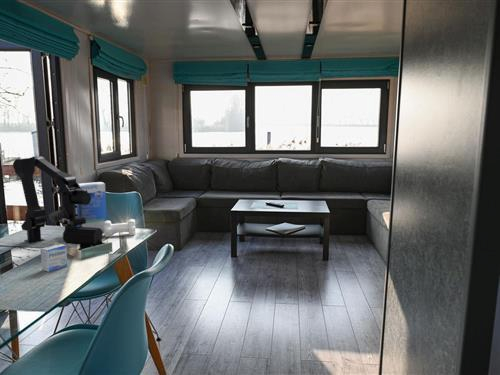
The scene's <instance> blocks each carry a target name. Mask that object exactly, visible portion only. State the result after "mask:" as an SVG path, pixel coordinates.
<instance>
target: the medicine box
mask: <svg viewBox="0 0 500 375" xmlns="http://www.w3.org/2000/svg"><path fill="white" fill-rule="evenodd" d="M40 259H41V260H40V261H41V270H42V271H45V272H48V273H50V272H54V271H57V270H60V269H63V268H67V267H68V254H67V249H66V244H64V245H63V243H61V244H58V245H54V246H53V245H50V246H46V247H43V248H40Z"/></svg>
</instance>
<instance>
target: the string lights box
mask: <svg viewBox="0 0 500 375" xmlns="http://www.w3.org/2000/svg"><path fill="white" fill-rule="evenodd" d="M78 184H79V185H80V187H81V188H82V190H87V192H88V193H89V194H90V196H91V201H90V203H89V204H88V205H79V204H76V205H77V208H76V214H78V216H77V217H79V216H81V217H84V218H85V219H86V223H85V224H80V225H77V227H92V228H100V229H101V230H102V234H103V233H104V222H105V221H106V220H107V219H108V218H107V200H106V199H107V198H106V197H107V196H106V195H107V194H106V183H104V182H102V181H97V182H95V181H94V182H83V183H79V182H78Z"/></svg>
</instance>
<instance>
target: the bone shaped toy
mask: <svg viewBox="0 0 500 375" xmlns="http://www.w3.org/2000/svg"><path fill="white" fill-rule="evenodd" d="M103 233H104V237H105V238H111V237H112V234H115V233H128V235H129V236H131V237H132V236H135V235H136V219H133V218H130V219H128V221H127V222H124V223H123V222H122V223H112V221H111V220H106V221H105V222H104V232H103Z"/></svg>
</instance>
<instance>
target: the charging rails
mask: <svg viewBox="0 0 500 375" xmlns="http://www.w3.org/2000/svg"><path fill="white" fill-rule="evenodd" d="M102 243H104V244H101V245H96V246H93V247H92V246H91V247H90V248H86V249H82V250H78V249H79V248H75V247H72V246H69V245H68V244H67V245H66V244H63V243H62V242H58V241H56V240H55V241H53V243H52V246H54V245H58V244H63V245H66V249H67V255H70V256H72V257H76V258H78V259H81V260H85V259H89V258H93V257H96V256H99V255H100V256H101V255H103V254H107V253H108V254H109V253H111V252H113V242H112V241H109V242H104V241H102Z"/></svg>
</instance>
